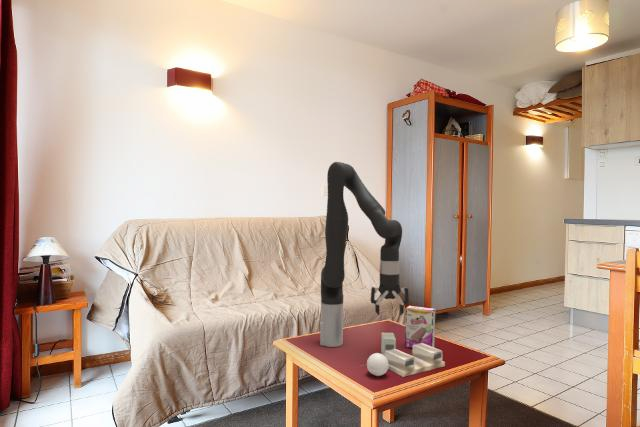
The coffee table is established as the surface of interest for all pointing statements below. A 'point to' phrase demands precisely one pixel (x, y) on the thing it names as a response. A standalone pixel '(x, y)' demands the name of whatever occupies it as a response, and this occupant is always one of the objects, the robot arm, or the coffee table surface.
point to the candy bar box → (419, 326)
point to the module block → (387, 342)
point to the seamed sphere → (377, 364)
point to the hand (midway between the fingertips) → (389, 314)
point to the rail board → (414, 360)
